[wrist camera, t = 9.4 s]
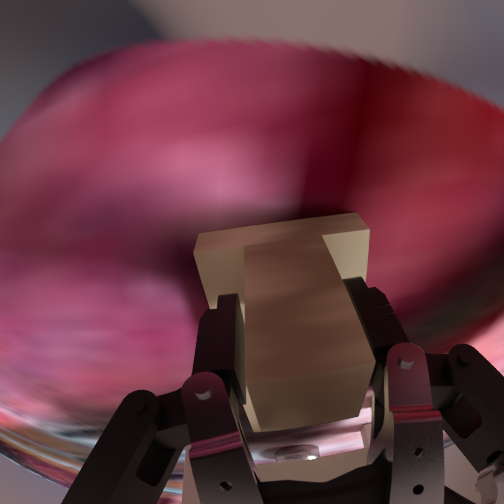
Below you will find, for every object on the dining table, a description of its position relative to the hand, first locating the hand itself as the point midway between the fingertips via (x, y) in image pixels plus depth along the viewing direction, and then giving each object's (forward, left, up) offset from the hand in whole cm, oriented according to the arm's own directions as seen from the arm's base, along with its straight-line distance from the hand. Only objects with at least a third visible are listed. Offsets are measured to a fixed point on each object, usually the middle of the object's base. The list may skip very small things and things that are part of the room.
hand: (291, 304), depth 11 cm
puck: (0, +26, -3) cm, 26 cm away
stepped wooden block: (0, +6, -3) cm, 7 cm away
